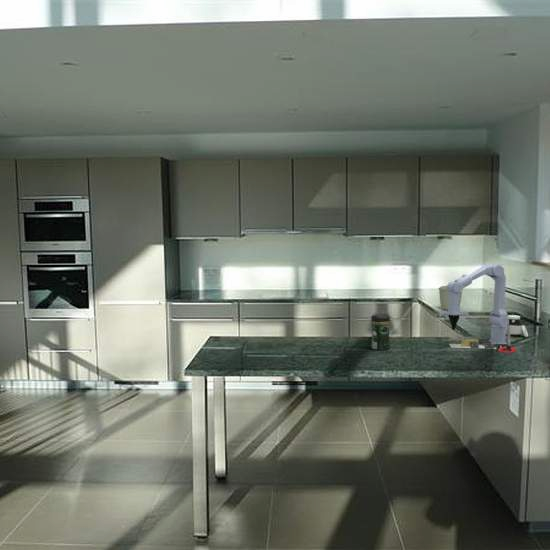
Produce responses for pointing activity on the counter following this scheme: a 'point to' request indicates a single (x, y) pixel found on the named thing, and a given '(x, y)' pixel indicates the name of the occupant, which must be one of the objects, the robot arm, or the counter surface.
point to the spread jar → (516, 326)
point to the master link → (468, 342)
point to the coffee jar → (380, 332)
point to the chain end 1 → (474, 345)
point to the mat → (465, 347)
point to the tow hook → (508, 344)
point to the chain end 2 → (488, 344)
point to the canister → (445, 297)
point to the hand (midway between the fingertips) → (453, 329)
